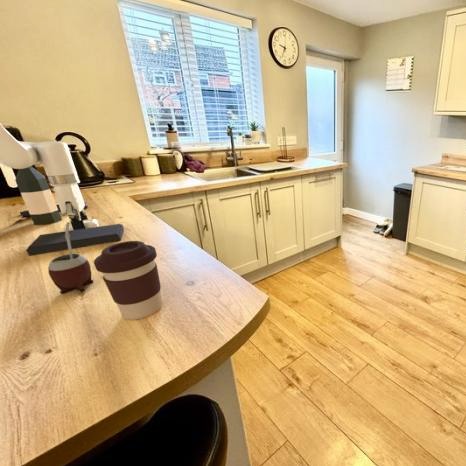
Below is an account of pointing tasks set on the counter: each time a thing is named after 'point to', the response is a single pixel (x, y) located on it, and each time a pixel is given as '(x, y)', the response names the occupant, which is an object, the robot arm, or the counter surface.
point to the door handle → (27, 215)
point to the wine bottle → (37, 196)
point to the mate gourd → (70, 270)
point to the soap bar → (87, 223)
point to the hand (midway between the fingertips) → (82, 227)
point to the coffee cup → (131, 278)
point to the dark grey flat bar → (76, 239)
